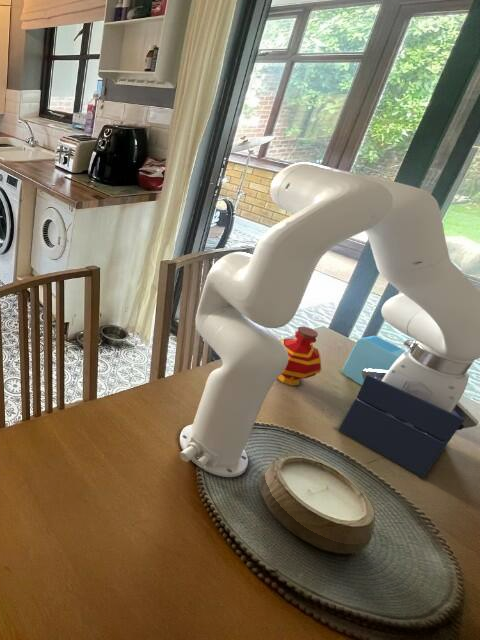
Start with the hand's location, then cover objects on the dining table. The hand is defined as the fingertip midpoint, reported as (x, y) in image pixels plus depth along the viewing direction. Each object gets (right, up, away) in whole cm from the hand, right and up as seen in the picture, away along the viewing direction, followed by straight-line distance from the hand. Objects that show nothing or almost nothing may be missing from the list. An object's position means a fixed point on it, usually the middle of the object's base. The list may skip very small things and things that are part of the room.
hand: (397, 423), depth 86 cm
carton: (+3, -5, +4) cm, 7 cm away
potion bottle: (-7, +3, +21) cm, 22 cm away
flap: (-4, +6, -6) cm, 9 cm away
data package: (+13, +2, +18) cm, 23 cm away
